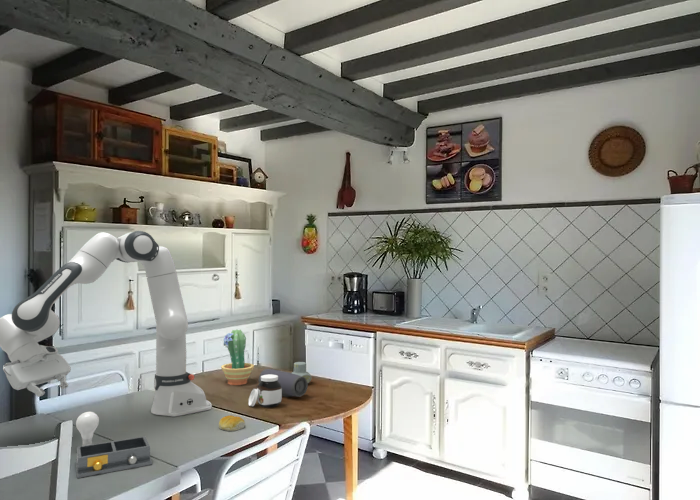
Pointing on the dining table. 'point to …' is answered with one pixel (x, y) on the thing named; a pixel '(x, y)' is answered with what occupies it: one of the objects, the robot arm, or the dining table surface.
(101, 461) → the grey rectangular box
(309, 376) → the air freshener
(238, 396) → the dining table surface
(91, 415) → the lightbulb
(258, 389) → the spread jar
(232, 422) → the bread roll
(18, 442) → the dining table surface
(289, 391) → the bluetooth speaker
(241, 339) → the potted cactus
